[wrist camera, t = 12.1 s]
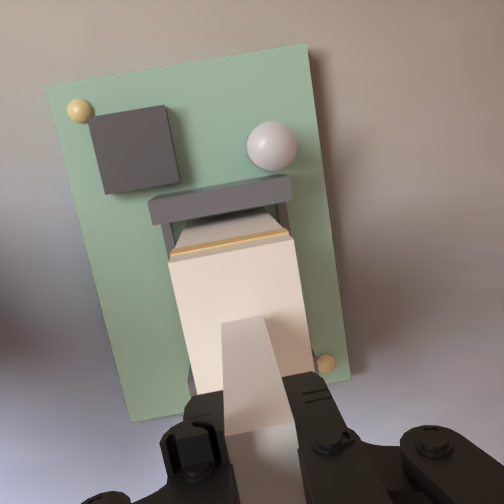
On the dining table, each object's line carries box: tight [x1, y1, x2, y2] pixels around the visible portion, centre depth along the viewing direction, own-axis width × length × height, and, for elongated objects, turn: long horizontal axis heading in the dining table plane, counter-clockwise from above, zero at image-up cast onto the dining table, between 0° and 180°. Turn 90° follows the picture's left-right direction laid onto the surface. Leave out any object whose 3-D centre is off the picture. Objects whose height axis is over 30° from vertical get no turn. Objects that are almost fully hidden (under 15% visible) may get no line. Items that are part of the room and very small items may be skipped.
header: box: [147, 174, 319, 398], centre depth 24 cm, size 11×7×4 cm, turn 10°
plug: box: [168, 208, 315, 395], centre depth 21 cm, size 7×5×10 cm, turn 10°
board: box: [44, 43, 351, 423], centre depth 25 cm, size 20×14×4 cm
